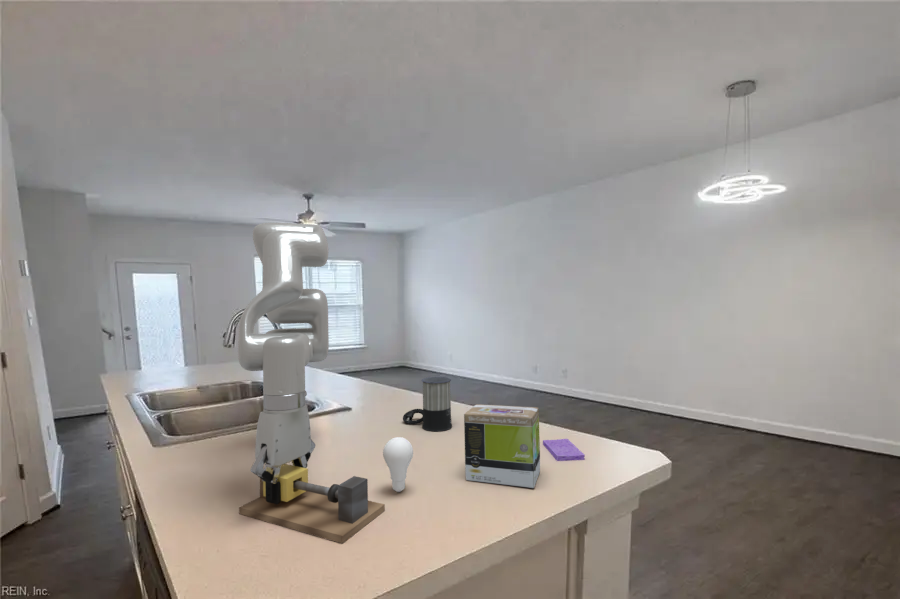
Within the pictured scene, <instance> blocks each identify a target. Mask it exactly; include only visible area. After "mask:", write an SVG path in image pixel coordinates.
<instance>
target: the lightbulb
mask: <svg viewBox="0 0 900 599" xmlns="http://www.w3.org/2000/svg"><path fill="white" fill-rule="evenodd" d="M382 450H383V451H382V456H383V459H384V462H385V464H386V465H387V467H388V469H389V473H390V479H391V485H392V486H391V487H392V490H393V491H396V492H397V493H400V492H402V491H403V490H404V489H406V479H407V473H408V472H407V471H408V468H409V466H410V463H411V461H412V459H413V456H414V448H413V446H412V443H411V442H410V441H409V440H408V439H407V438H405V437H402V436H401V437H400V436H396V437H393V438H391V439H390V440H388V441H387V442H386V444H385V445H384V447H383V449H382Z"/></svg>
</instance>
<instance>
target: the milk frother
mask: <svg viewBox="0 0 900 599" xmlns="http://www.w3.org/2000/svg"><path fill="white" fill-rule="evenodd" d="M451 381H452V378H451V377H448V376H431V377H430V376H429V377H424V378H422V379H421V382H422V408H414V409H411V410H408V411H407V412H406V413H404V414H403V416H402V421H403V422H404V423H405V424H409V425H417V424H421V423H422V426H421V427H422V429H423V430H425V431H428V432H429V431H430V432H443V431H444V432H445V431H448V430H451V429H452V427H453V424H452V407H451V406H452V404H451V403H452V400H451V399H452V398H451ZM415 414H420V415H422V417H420V418H418V419H415V420H413V419H414V415H415Z"/></svg>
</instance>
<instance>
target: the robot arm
mask: <svg viewBox="0 0 900 599" xmlns="http://www.w3.org/2000/svg"><path fill="white" fill-rule="evenodd" d="M252 240H253V244H254V248H255V251H256V254H257V256H258V257H259V259H260V262H261V264H262V289H261V291H260V292H259V293H258V294H257V295H255V296H254V297H253V298H252V299H251V300H250V302H248V304H247V306H246V307H245V309H244V310H243V312H242V315H241V317H240V320H239V323H238V324H239V325H238V338H237V339H238V343H237V358H238V363H239V364H240V367H241V368H242V369H244V370H246V371H249V372H260V371H262V376H263V377H262V378H263V380H262V382H263V383H262V384H263V385H262V386H263V387H262V389H263V393H262V394H263V410H262V411H260V413H259V416H258V420H257V425H256V431H255V432H256V433H255V450H254V452H255V454H254V458H255V460H254V462H253V464H252V466H251V467H250V472H251V473H252V474H254V475H255V476H257V477H258V478H259V479H260V478H261V479H262V481H264V482H266V501H267V502H269V503H273V504H279V503H280V502H281V484H280V482H278V477H279V473H280V468H281V466H282V465H284V464H287V463H290V462H291V463H292V464H291V465H293V466H298V467H302V468H307V469H308V466H309V465H308V462H309V461H310V458H311V456H312V453H313V451H314V450H315V448H316V443H315V442H314V440H312V439H311V438H312V435H311V434H312V433H311V423H310V422H311V421H310V416H309V410H308V405H307V404H306V396H307V395H308V392H307V391H306V366H308V364H309V363H317V362H318V363H319V362H322V361H325V359H327V357H328V356H329V355H328V354H329V346H330V345H329V343H330V342H329V341H330V340H329V306H328V298H327V296H326V294H325V292H324V291H323V290H322V289H318V288H304V285H303V284H304V280H303V268H308V267H310V268H320V267H321V268H323V267H324V266H326V264H327V262H328V259H329V242H328V239H327V236H326V234H325V231H324V229H323V227H322V226H320V225H318V224H313V223H312V224H310V223H291V222H289V223H288V222H263V223H258V224H257V225H255V226H254V227H253V229H252ZM264 315H266V316H267V317H266V318H267V319H268V321H270V323H274V324H281V325H282V324H284V325H285V324H287V325H289V324H293V325H294V324H309V325H310V326H311V327H302V328H296V327H293V328H276V329H272V330H269V331H267V332H265V333H254V329H255V326H256V323H257V322H258V320H260V319H261V318H262V317H263V316H264ZM271 468H273V473H272V474H271V473H270V472H271Z"/></svg>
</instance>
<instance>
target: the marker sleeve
mask: <svg viewBox="0 0 900 599" xmlns="http://www.w3.org/2000/svg"><path fill="white" fill-rule="evenodd" d="M270 473H271V474H272V473H273V470H271V472H270ZM295 480H297V481H302V482H306V483H309V468H308V467H307V468H302V467H298V466H293V464H287V463H286V464H283V465H281V468H280V473H279V477H278V482H280V484H281V501H285V502H288V501H289V500H291V499H293V498H295V497H297V496H299V495H300V494H302V493H304V492H306V491H304V490H300V489H295V488H293V481H295ZM263 496H265V497H266V482H264V481H263Z"/></svg>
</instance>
